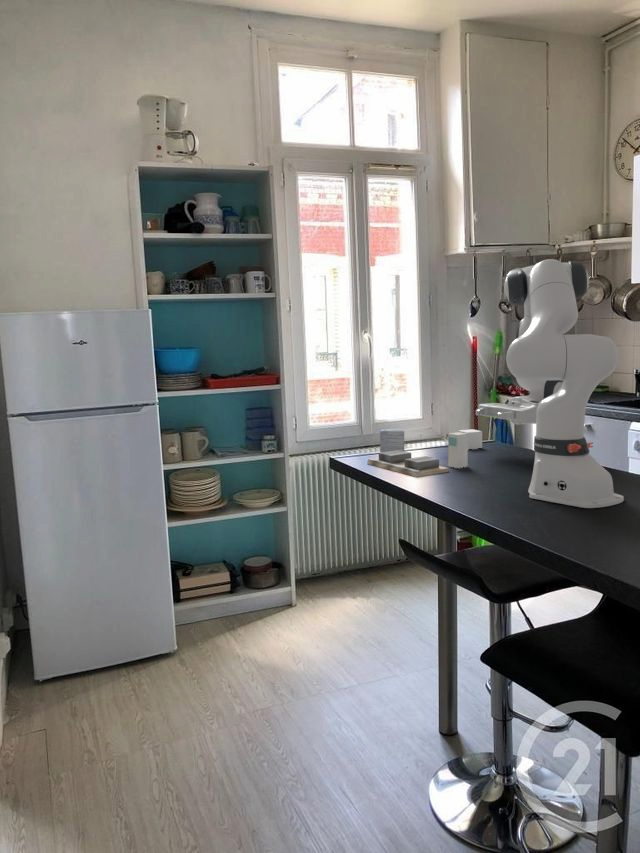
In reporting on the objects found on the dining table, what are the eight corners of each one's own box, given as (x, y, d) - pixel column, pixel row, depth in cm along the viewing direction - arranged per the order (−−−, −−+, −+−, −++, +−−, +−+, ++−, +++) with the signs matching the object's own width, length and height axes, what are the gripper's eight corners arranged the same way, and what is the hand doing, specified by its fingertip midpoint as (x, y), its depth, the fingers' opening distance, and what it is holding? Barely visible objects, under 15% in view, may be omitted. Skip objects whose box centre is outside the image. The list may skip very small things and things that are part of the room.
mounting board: (448, 471, 201) (448, 459, 201) (416, 476, 195) (416, 464, 195) (398, 459, 222) (398, 448, 221) (367, 463, 216) (367, 452, 215)
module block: (467, 466, 208) (467, 433, 206) (456, 468, 206) (456, 435, 204) (458, 464, 211) (458, 432, 210) (447, 466, 209) (447, 433, 208)
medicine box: (404, 454, 230) (404, 428, 229) (404, 457, 226) (404, 430, 224) (380, 454, 231) (380, 429, 229) (380, 457, 226) (379, 431, 225)
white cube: (457, 447, 242) (457, 430, 241) (472, 446, 244) (472, 429, 243) (467, 450, 236) (467, 432, 235) (482, 448, 238) (482, 431, 237)
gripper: (496, 397, 228) (464, 401, 221) (545, 403, 211) (512, 407, 204) (496, 416, 229) (464, 420, 222) (545, 424, 212) (512, 428, 205)
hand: (488, 414), depth 213 cm, fingers open, 8 cm apart
